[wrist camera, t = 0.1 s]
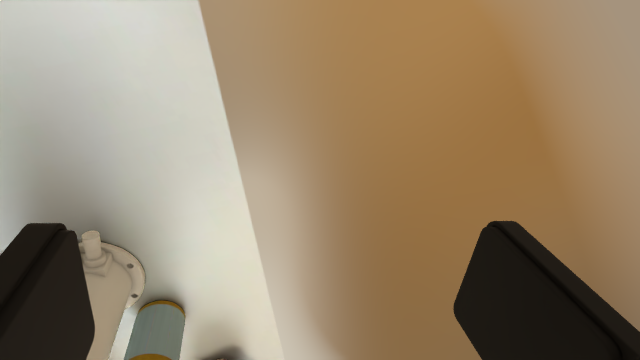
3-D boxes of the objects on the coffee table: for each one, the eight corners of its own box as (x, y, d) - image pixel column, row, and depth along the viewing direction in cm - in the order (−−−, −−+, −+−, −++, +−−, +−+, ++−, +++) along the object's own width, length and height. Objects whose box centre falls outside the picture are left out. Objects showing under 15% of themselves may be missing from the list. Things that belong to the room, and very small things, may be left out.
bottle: (144, 334, 60) (119, 433, 47) (132, 302, 57) (101, 399, 44) (190, 326, 61) (177, 420, 48) (180, 294, 58) (164, 386, 45)
